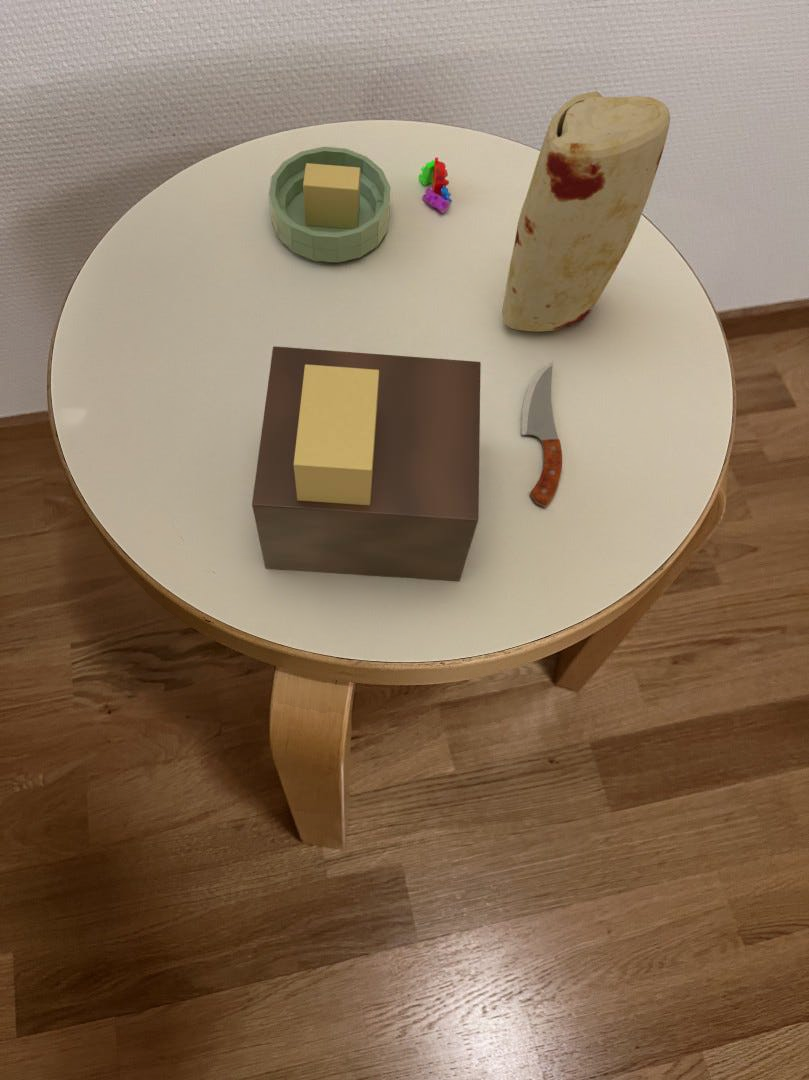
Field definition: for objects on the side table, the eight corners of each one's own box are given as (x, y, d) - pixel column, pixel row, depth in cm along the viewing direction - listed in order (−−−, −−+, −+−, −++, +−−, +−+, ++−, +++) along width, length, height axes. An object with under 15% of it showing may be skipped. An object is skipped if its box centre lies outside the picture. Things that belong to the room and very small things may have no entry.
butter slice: (305, 225, 77) (302, 185, 73) (307, 203, 78) (305, 162, 74) (357, 229, 77) (358, 189, 73) (359, 208, 78) (360, 167, 74)
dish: (266, 261, 76) (263, 231, 73) (279, 174, 80) (276, 142, 77) (384, 270, 76) (386, 241, 73) (391, 183, 80) (393, 152, 77)
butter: (297, 500, 55) (293, 464, 51) (307, 405, 58) (305, 363, 54) (370, 505, 56) (372, 470, 52) (377, 410, 59) (379, 369, 54)
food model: (516, 360, 73) (572, 163, 55) (479, 299, 76) (521, 92, 57) (619, 324, 75) (705, 123, 57) (580, 266, 78) (651, 56, 60)
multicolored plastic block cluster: (453, 216, 79) (458, 185, 76) (423, 217, 79) (426, 186, 76) (447, 174, 81) (451, 142, 78) (417, 175, 81) (420, 143, 78)
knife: (519, 357, 72) (556, 358, 73) (518, 361, 73) (555, 363, 73) (525, 503, 67) (565, 505, 67) (523, 507, 67) (563, 508, 67)
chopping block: (264, 568, 64) (251, 504, 55) (282, 425, 69) (272, 345, 60) (459, 581, 65) (478, 520, 56) (463, 438, 70) (480, 361, 61)
